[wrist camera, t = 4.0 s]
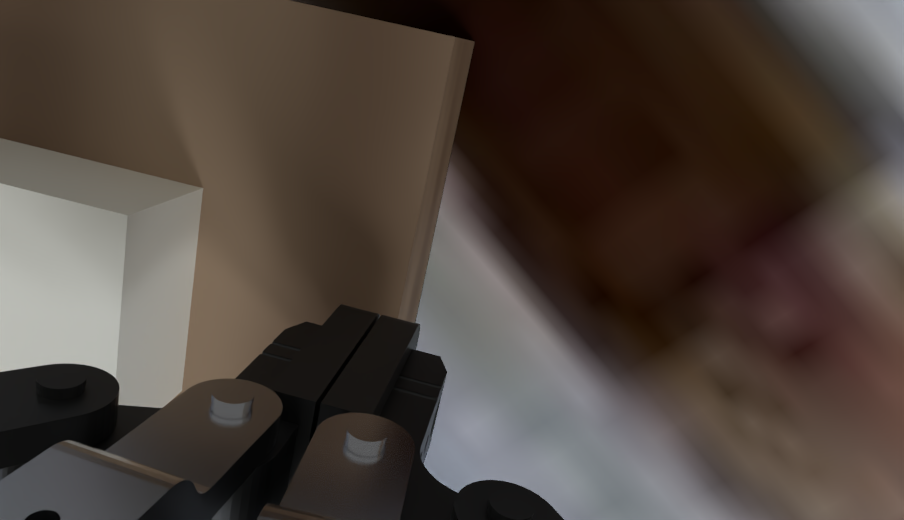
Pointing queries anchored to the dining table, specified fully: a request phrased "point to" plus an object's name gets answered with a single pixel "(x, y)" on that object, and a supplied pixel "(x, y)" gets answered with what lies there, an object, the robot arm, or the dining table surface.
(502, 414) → the dining table surface
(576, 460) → the dining table surface
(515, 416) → the dining table surface
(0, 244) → the tile
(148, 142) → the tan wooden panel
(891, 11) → the dining table surface
